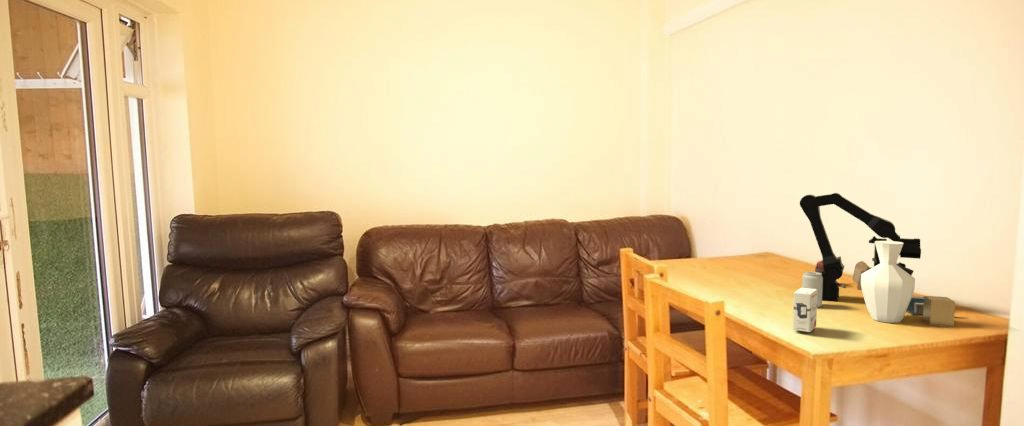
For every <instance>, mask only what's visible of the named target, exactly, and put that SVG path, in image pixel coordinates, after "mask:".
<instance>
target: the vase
mask: <svg viewBox="0 0 1024 426" xmlns="http://www.w3.org/2000/svg"><path fill="white" fill-rule="evenodd" d="M903 244H904V243H902V242H896V241H892V240H887V241H875V243H874V246H875V245H876V249H877V252H878V256H879V259H880V264H878V265H876V266H875V267H874V266H873V267H872V268H871V269H869V270H868V271H866V272H864V273H862V274H861V288H862V290H861V292H862V296H863V299H864V302H865V307H866V310H867V311H868V313H869V315H870V316H871V318H872V320H874V321H876V322H881V323H886V324H899V323H901V322H902V320H903V319H904V318H905V315H906V313H907V311H906V310H907V308H908V305H909V303H910V301H911V298H912V297H914V291H915V287H916V278H915V277H914V276H913V275H912V276H911V275H910V274H908V273H907V272H906V271H904V270H903V269H902V268H900V267H899V266H897V265H896V262H897V263H898V259H899V258H900V255H899V254H900V252H901V249H902V246H903Z"/></svg>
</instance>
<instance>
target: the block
mask: <svg viewBox="0 0 1024 426" xmlns="http://www.w3.org/2000/svg"><path fill="white" fill-rule="evenodd" d="M923 297H924V306H923V316H922V321H923V322H925V324H927V325H929V326H936V327H946V328H947V327H950V328H954V325H955V307H956V306H955V305H956V301H955V300H953V299H951V298H950V297H947V296H938V295H937V296H935V295H924V296H923Z"/></svg>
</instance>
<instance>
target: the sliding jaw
mask: <svg viewBox="0 0 1024 426" xmlns="http://www.w3.org/2000/svg"><path fill="white" fill-rule="evenodd" d="M914 303H924V296H912V298H911V301H910V303H909V305H908V307H912V308H914Z"/></svg>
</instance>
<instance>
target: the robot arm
mask: <svg viewBox="0 0 1024 426" xmlns="http://www.w3.org/2000/svg"><path fill="white" fill-rule="evenodd" d="M830 205H835V206H836V207H838V208H840V209H841V210H843V211H844V212H846V213H848V214H849V215H851V216H852V217H854V218H856V219H857V220H859V221H860V222H862V223H864V224H865V225H866V226H867V227H868V228H869V229H870V230H871V231H873V232H874V234H876V235H877V236H878V237H880V238H877V237H876V235H875V236H874V235H873V236H872V237H871V238H870V239H868V244H874V251H873V252H874V254H873V255H874V256H873V257H872V262H873V267H875V266H876V265H878V264H880V259H879V256H878V252H877V249H876V245H875V241H888V240H887V238H888V239H889V240H890V241H896V242H902V243H904V244H903V246H902V249H901V252H900V254H899V258H902V259H903V258H904V259H919V260H920V259H921V255H922V249H921V239H920V238H916V237H915V238H904V237H903V238H901V236H900V234H898V233H897V232H896V227H895V225H894V223H893V222H891V221H890V220H888V219H885V218H882V217H881V216H877V215H875V214H873V213H870V212H869V211H867V210H865V209H863V208H862V207H860V206H859V205H857V204H855V203H853V201H850V200H849V199H847V198H845V197H844V196H843V195H841V194H840V193H839V192H834V193H830V194H824V195H823V194H822V195H814V194H806V195H804V196H802V197H801V198H800V200H799V206H800V208H801V210H802V211H803V213H804V215H805V216H806V218H807V219H808V220H809V223H810V225H811V229H812V232H813V234H814V237H815V240H816V242H817V245H818V248H819V251H820V254H821V257H822V260H823V268H824V271H823V272H821V274H822V277H823V289H822V301H839V298H840V286H838V283H839V282H838V280H839V279H841V277H842V276H843V273H844V269H845V265H844V264H843V262H842V261H843V260H842V256H837V255H836V254H835V253H834V250H833V248H832V245H831V242H830V239H829V236H828V234H827V231H826V228H825V226H824V223H823V219H822V216H821V210H820V208H821V207H824V206H830ZM896 265H897V266H899V267H900V268H902V269H903V270H904V271H906V272H907V273H908V274H910V275H911V276H913V273H914V270H913V269H911V268H908V267H906V266H907V265H906V264H905V263H902V262H901V261H900V262H898V261H897V262H896ZM873 267H870V266H869V268H867V269H866V271H868V270H869V269H871V268H873ZM835 281H837V282H838V283H837V282H835Z"/></svg>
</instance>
